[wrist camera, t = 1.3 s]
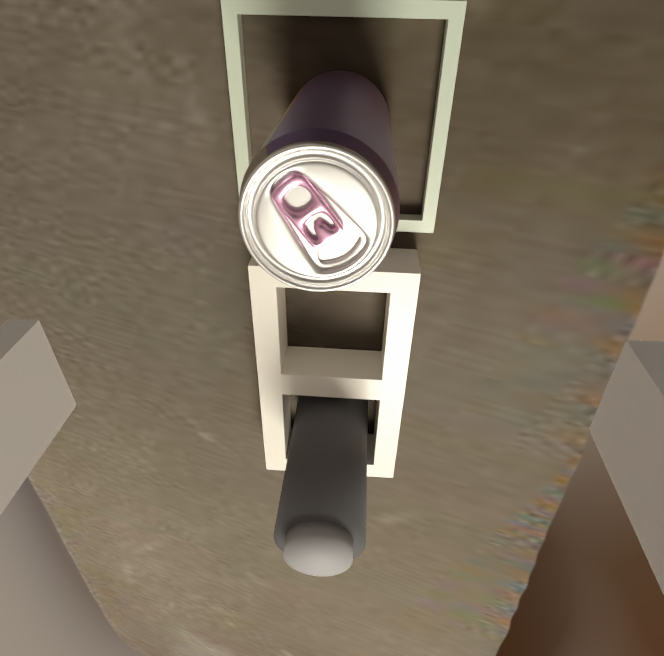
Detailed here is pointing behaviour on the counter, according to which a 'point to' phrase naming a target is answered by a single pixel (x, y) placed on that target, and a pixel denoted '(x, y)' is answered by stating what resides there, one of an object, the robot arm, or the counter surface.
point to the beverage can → (323, 187)
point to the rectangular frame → (379, 3)
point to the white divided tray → (336, 360)
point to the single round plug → (324, 486)
